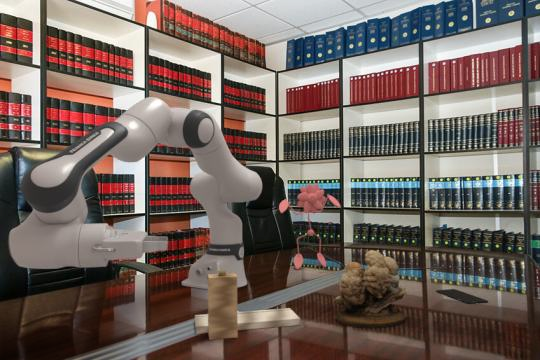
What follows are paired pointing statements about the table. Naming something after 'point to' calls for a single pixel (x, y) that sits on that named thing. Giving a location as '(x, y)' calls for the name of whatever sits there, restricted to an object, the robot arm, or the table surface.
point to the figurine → (311, 202)
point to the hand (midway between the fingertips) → (167, 243)
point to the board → (255, 319)
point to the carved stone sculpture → (370, 293)
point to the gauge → (222, 305)
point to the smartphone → (462, 296)
